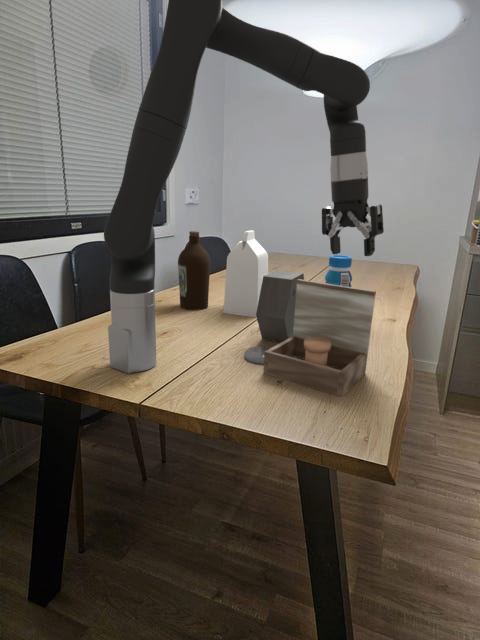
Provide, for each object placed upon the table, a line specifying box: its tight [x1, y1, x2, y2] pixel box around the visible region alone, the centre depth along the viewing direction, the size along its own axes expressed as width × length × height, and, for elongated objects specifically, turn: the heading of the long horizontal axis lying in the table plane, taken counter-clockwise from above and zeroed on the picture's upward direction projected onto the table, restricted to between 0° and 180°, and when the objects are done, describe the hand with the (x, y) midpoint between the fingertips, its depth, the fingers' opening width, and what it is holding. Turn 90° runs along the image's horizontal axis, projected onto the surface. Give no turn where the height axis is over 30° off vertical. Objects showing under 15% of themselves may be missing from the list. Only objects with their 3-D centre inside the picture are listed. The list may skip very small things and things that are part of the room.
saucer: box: [243, 346, 271, 365], centre depth 101 cm, size 9×9×1 cm
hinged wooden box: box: [262, 279, 377, 398], centre depth 90 cm, size 14×18×19 cm
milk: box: [223, 230, 269, 318], centre depth 137 cm, size 12×12×26 cm
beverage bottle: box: [324, 254, 353, 287], centre depth 131 cm, size 8×8×20 cm
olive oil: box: [177, 230, 211, 311], centre depth 139 cm, size 11×11×25 cm
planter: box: [255, 270, 305, 343], centre depth 114 cm, size 17×8×21 cm
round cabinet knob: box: [304, 337, 331, 367], centre depth 92 cm, size 6×6×8 cm
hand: (352, 254), depth 93 cm, fingers open, 8 cm apart
